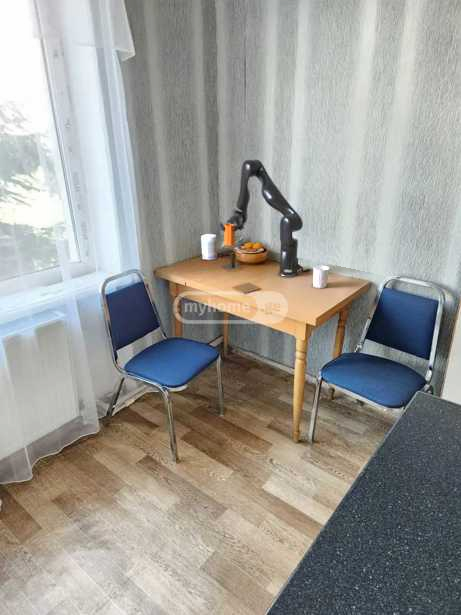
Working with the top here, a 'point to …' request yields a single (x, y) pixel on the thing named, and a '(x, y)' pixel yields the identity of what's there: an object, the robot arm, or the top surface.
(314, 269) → the white cup
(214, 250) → the supplement tub
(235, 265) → the stake
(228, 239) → the orange cylinder
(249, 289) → the cork coaster
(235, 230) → the robot arm
